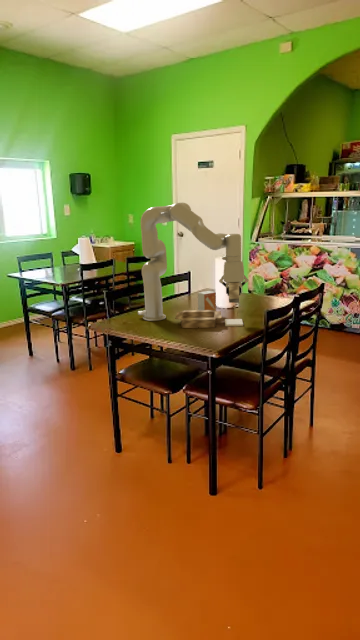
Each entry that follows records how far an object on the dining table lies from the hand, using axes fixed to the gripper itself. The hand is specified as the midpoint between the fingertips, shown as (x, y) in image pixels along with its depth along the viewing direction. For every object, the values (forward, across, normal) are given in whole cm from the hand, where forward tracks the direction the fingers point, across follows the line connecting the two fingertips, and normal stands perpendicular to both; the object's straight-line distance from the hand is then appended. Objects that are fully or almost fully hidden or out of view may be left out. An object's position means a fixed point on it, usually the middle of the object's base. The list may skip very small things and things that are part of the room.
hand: (233, 294), depth 221 cm
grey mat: (+15, 0, 0) cm, 15 cm away
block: (+3, 0, 0) cm, 3 cm away
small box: (+15, -14, +18) cm, 28 cm away
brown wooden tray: (+15, -18, 0) cm, 24 cm away
